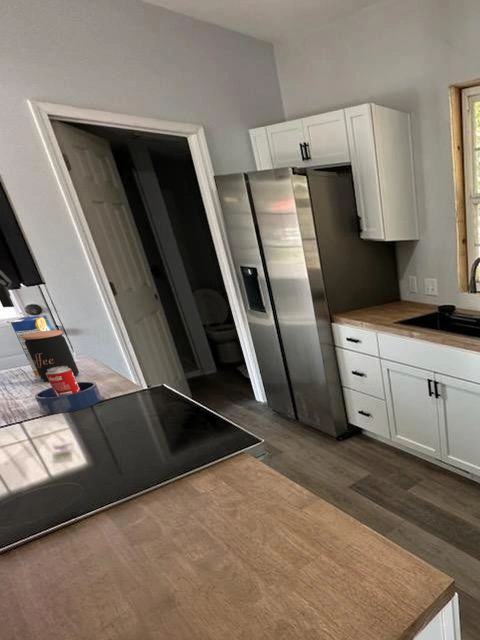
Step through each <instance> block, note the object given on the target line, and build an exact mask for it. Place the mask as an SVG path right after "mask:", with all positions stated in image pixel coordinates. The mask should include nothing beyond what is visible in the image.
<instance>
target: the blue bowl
mask: <svg viewBox="0 0 480 640" xmlns="http://www.w3.org/2000/svg"><path fill="white" fill-rule="evenodd" d="M77 384H78V386H79V388H80V392H77V393H73V394H68V395H63V396H57V397H56V395H55V393H54V391H53V388H52V387H49V388H45V389H43V390H41V391H39V392H37V393H35V394H34V399H35V401H36V403H37V405H38V407H39V409H40V411H41V413H42V414H45V415H52V414H53V415H55V414H56V415H57V414H63V413H69V412H74V411H78V410H82V409H86V408H88V407H92V406H95V405H97V404H98V403H100V402H101V401H102V400H103V397H102V394H101V391H100V389H99V387H98V384H97V383H96V382H94V381H77Z"/></svg>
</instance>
